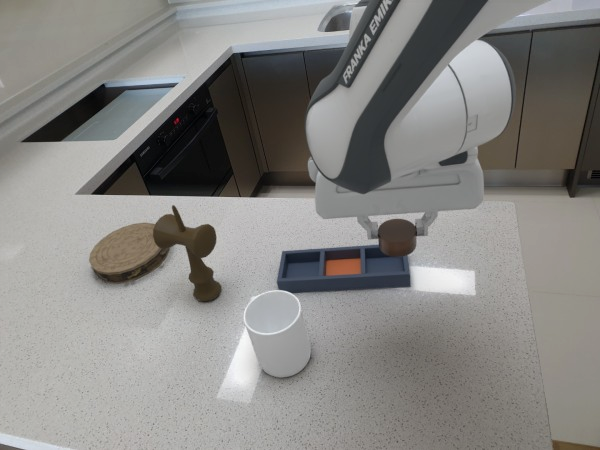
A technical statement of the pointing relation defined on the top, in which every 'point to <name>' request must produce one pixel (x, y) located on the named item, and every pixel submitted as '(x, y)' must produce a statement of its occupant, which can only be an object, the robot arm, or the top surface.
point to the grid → (341, 269)
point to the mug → (278, 332)
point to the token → (397, 237)
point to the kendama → (190, 250)
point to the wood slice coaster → (127, 254)
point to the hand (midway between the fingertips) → (397, 234)
